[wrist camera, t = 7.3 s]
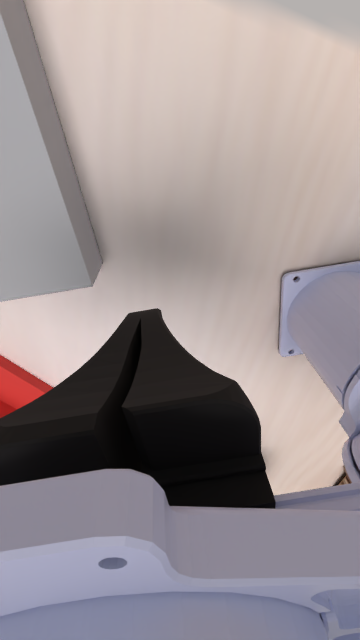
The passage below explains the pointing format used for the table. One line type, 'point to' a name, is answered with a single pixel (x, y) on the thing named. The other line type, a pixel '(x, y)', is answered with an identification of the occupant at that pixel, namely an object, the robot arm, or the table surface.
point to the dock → (37, 177)
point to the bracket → (18, 387)
